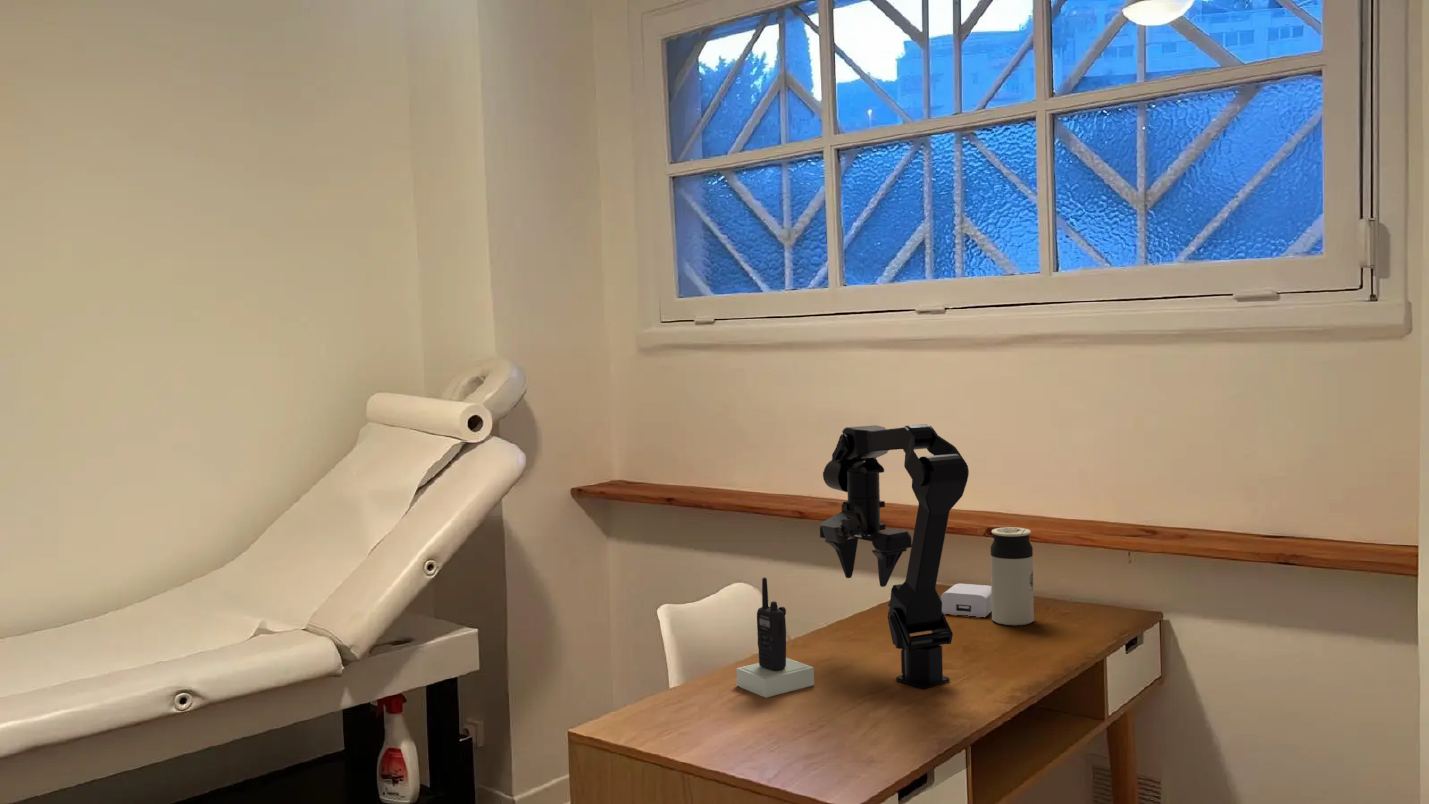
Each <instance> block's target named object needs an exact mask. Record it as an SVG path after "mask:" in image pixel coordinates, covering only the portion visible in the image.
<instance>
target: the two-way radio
mask: <svg viewBox="0 0 1429 804" xmlns="http://www.w3.org/2000/svg"><path fill="white" fill-rule="evenodd" d="M761 586H762V587H761V596H762V597H761V600H762V601H761V603H762V604H761V607H759V608H757V611H756V627H757V628H756V629H757V648H758V663H759V665H760V666H762V667H765V668H768V669H771V670H774V671H777V670H781V669H784V668H785V667H786V658H787V625H786V622H787V621H786V614H787V609H786V607H784V606H779V607H778V603H777V601H774V600H773V601H771V602H770V606H769V591H768V589H769V588H768V578H767V577H762V579H761Z"/></svg>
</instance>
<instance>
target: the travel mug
mask: <svg viewBox="0 0 1429 804" xmlns="http://www.w3.org/2000/svg"><path fill="white" fill-rule="evenodd" d="M991 533H992V536H993V541H992V543H991V545H990V578H991V579H990V580H991V581H990V583H991V584H990V586H991V597H992V611H991V620H992V621H993V622H994V623H996V624H999V625H1002V624H1003V625H1004V626H1010V625H1011V626H1010V627H1013V626H1014V627H1015V626H1017V627H1018V625H1019V626H1027V625H1029V624H1031V623H1032V622H1034V619H1035V618H1034V616H1035V615H1034V614H1035V613H1034V612H1035V611H1034V607H1035V606H1034V563H1033V562H1034V557H1033V556H1034V553H1033V551H1034V550H1033V547H1034V546H1032V544H1031V542H1030V535H1031V533H1032V531H1031V529H1029V528H1023V527H1010V526H1008V527H998V528H997V527H996V528H993V529H992V530H991Z"/></svg>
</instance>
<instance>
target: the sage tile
mask: <svg viewBox="0 0 1429 804" xmlns="http://www.w3.org/2000/svg"><path fill="white" fill-rule="evenodd" d="M735 670H736V686H737V687H738V686H739V688H742V689H743V690H746V691H748V692H751V693H754V694H755V695H758V696H760V697H763V698H770V697H774V696H777V695H781V694H786V693H789V692H793V691H798V690H802V689H805V688H809V687H812V686H815V673H814V672H815V669H814V666H811V665H807V664H805V663H802V662H800V661H796V660H793V659H791V658H789V657H786V667H785V668H784V669H781V670H777V671H774V670H771V669H768V668H765V667H762V666H760V665H759V662H757V663H752V664H748V665H745V666H740V667H737V668H736V669H735Z"/></svg>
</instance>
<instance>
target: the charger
mask: <svg viewBox="0 0 1429 804" xmlns="http://www.w3.org/2000/svg"><path fill="white" fill-rule="evenodd" d="M940 599H941V601H942V612H943V614H944V615H946V614H954V615H953V616H957V615H968V616H967V617H969V616H976V617H975V618H980V617H984V618H985V617H987V616H988V615H989V614H990V613H992V597H991V585H987V584H986V585H984V584H972V583H956V584H954V585H952V586H951V587H950V588H948V589H947V590H946V591H944V592H943V593H942V594H941V595H940Z"/></svg>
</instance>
